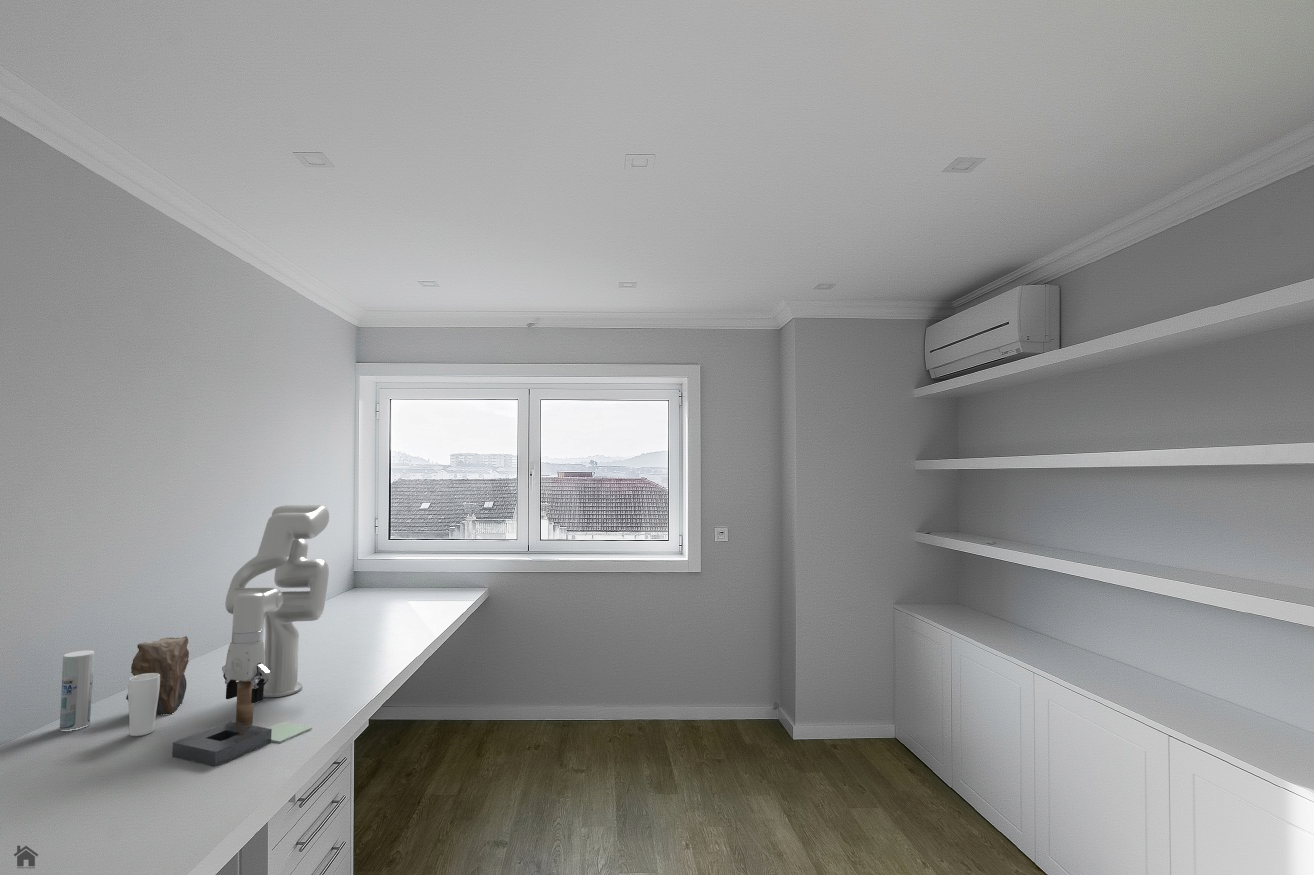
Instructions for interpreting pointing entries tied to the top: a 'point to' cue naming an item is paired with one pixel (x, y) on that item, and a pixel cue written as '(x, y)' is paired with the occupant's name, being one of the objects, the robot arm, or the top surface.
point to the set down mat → (286, 731)
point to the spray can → (76, 689)
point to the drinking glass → (143, 703)
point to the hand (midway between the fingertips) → (244, 699)
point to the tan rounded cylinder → (244, 703)
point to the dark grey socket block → (221, 743)
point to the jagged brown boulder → (164, 669)
